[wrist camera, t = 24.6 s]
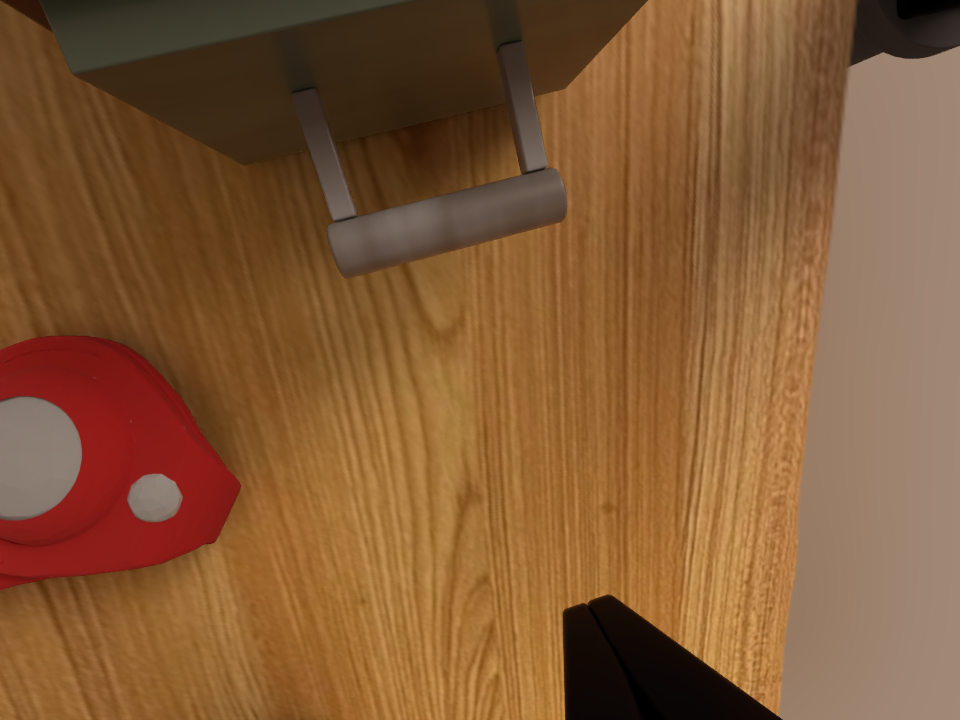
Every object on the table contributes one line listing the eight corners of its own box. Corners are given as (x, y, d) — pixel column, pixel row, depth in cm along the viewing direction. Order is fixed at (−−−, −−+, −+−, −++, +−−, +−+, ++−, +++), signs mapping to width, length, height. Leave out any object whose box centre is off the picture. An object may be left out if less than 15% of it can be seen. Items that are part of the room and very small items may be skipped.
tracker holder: (-52, 284, 14) (237, 406, 14) (74, 310, 18) (293, 403, 18) (-248, 655, 13) (59, 789, 13) (-66, 589, 17) (164, 689, 17)
